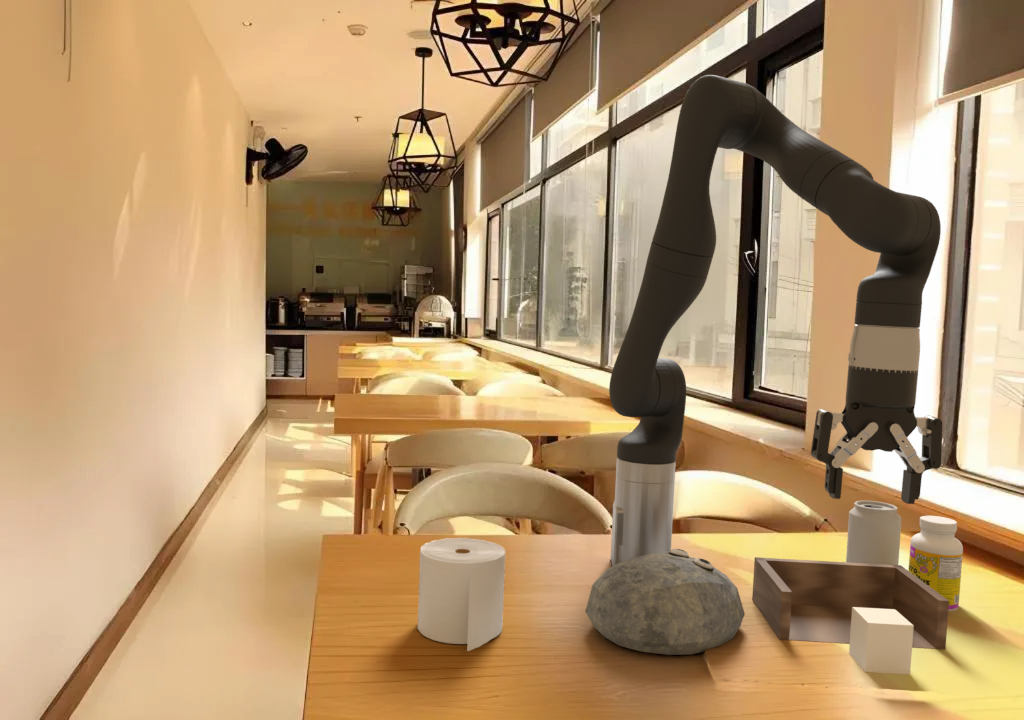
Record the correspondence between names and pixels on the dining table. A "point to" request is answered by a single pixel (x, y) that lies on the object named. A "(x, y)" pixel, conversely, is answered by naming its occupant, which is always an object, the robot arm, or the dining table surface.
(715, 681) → the dining table surface
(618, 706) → the dining table surface
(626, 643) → the decorative stone
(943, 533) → the supplement bottle
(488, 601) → the toilet tissue
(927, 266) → the robot arm
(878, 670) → the cream block
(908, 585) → the walnut box
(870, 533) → the can
